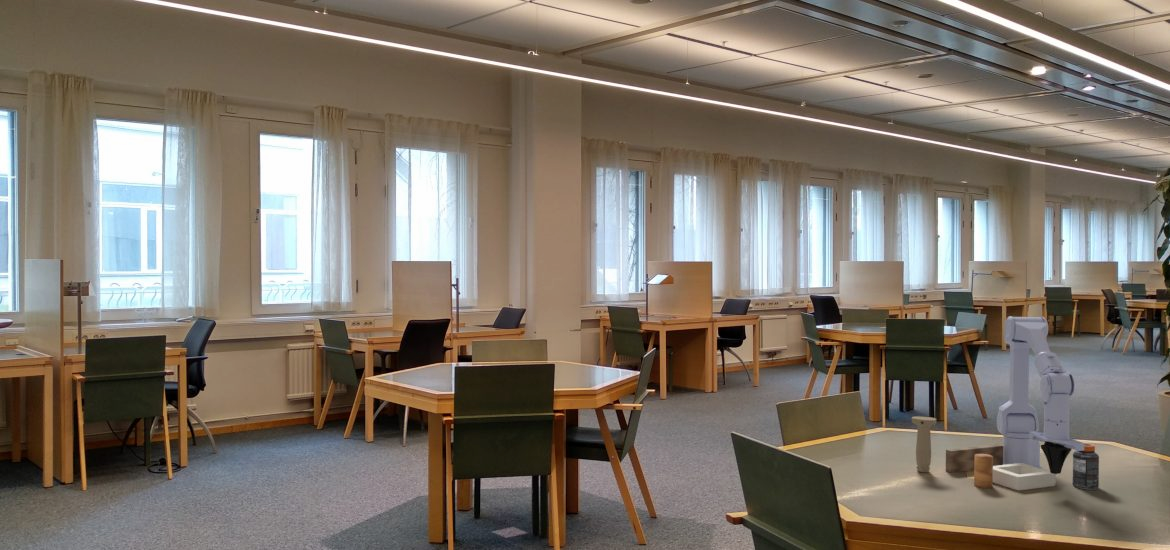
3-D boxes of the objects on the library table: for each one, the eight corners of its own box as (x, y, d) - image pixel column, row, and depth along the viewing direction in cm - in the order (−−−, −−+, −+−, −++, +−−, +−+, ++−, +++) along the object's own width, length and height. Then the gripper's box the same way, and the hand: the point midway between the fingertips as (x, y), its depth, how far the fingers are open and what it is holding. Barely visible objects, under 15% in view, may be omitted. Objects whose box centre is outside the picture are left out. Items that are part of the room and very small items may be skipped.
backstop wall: (997, 465, 247) (997, 444, 247) (1003, 466, 245) (1003, 445, 245) (945, 470, 241) (945, 449, 241) (950, 472, 239) (951, 451, 239)
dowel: (983, 482, 228) (983, 453, 228) (996, 487, 224) (996, 456, 224) (970, 484, 227) (970, 454, 227) (983, 488, 223) (983, 458, 222)
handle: (933, 475, 236) (934, 421, 236) (909, 471, 240) (910, 418, 239) (937, 471, 240) (937, 418, 240) (913, 468, 244) (913, 415, 243)
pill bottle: (1095, 485, 226) (1096, 442, 226) (1101, 491, 221) (1102, 447, 221) (1070, 483, 228) (1071, 441, 228) (1074, 488, 223) (1075, 445, 222)
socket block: (1021, 475, 236) (1021, 462, 236) (1055, 485, 226) (1055, 472, 226) (984, 479, 231) (984, 466, 231) (1017, 490, 221) (1018, 477, 221)
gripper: (1021, 415, 223) (1020, 467, 223) (1069, 426, 209) (1068, 481, 210) (1041, 414, 226) (1040, 465, 226) (1090, 424, 212) (1089, 479, 212)
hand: (1055, 473), depth 218 cm, fingers closed
